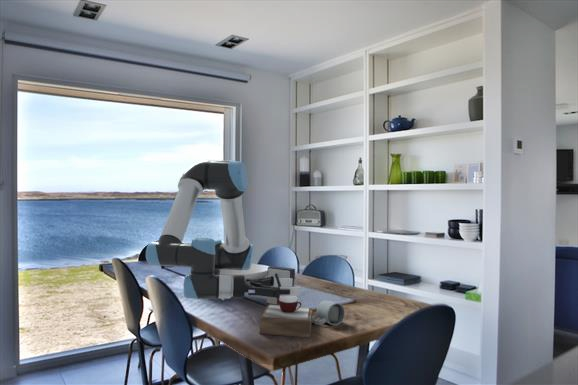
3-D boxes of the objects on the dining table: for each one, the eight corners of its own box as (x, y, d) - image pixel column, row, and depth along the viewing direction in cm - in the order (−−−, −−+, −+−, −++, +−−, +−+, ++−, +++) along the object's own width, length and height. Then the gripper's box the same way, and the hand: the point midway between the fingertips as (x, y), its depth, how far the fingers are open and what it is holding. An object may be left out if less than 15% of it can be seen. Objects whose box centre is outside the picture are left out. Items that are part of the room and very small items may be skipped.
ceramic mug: (331, 318, 152) (331, 297, 152) (345, 324, 144) (345, 302, 145) (307, 322, 146) (307, 300, 146) (320, 328, 139) (320, 305, 139)
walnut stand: (267, 319, 147) (267, 303, 147) (311, 322, 145) (312, 306, 145) (259, 333, 131) (260, 316, 131) (309, 337, 129) (310, 319, 130)
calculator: (265, 304, 168) (266, 267, 169) (270, 301, 172) (271, 265, 172) (289, 308, 163) (290, 270, 163) (293, 305, 167) (295, 268, 167)
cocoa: (303, 313, 138) (306, 277, 138) (290, 316, 133) (294, 278, 133) (282, 306, 144) (285, 271, 144) (269, 308, 139) (273, 273, 139)
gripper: (230, 289, 147) (289, 289, 151) (233, 308, 123) (302, 307, 126) (231, 268, 148) (289, 269, 151) (234, 283, 123) (303, 283, 127)
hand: (295, 286), depth 139 cm, fingers open, 13 cm apart
